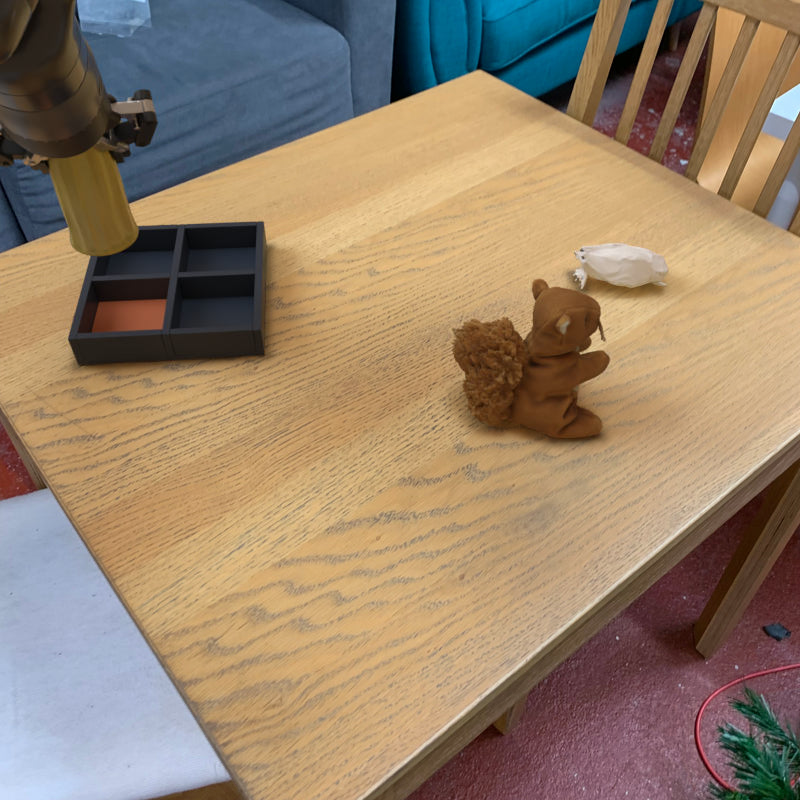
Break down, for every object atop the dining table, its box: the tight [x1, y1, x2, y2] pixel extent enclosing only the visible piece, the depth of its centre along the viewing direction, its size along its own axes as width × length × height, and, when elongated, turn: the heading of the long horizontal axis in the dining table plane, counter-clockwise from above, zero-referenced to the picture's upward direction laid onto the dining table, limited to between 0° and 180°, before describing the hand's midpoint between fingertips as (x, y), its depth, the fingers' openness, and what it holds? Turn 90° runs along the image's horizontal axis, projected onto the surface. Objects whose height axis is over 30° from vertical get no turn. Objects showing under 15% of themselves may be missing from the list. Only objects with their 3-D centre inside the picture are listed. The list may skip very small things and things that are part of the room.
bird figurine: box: [572, 242, 669, 290], centre depth 85 cm, size 5×7×10 cm
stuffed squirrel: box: [451, 278, 611, 439], centre depth 69 cm, size 10×14×13 cm
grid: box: [67, 220, 268, 366], centre depth 82 cm, size 18×18×4 cm
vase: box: [46, 148, 139, 256], centre depth 65 cm, size 6×6×14 cm
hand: (81, 157), depth 66 cm, fingers closed on vase, 5 cm apart
